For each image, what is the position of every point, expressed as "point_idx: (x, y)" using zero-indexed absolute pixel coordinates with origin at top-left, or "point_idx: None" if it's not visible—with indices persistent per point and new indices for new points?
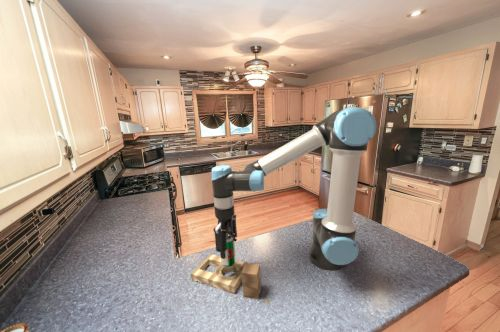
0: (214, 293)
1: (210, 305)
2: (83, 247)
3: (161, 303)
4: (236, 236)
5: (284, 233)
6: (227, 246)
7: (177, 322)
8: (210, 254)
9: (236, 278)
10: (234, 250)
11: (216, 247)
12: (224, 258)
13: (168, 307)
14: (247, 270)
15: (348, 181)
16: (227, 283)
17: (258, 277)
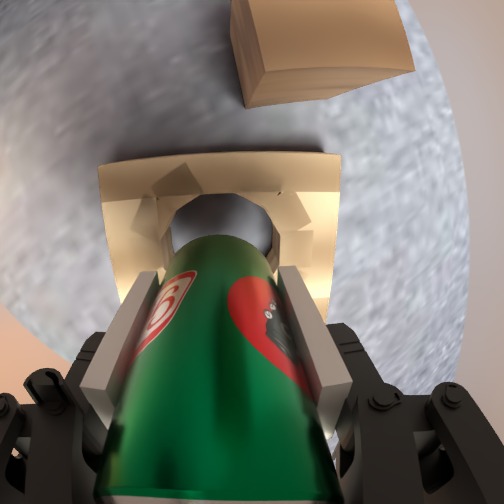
0: (349, 250)
1: (405, 229)
2: None
3: (406, 370)
4: (4, 402)
5: None
6: (317, 428)
7: (458, 287)
8: None
9: (271, 171)
10: (129, 306)
11: (450, 468)
12: (340, 325)
13: (419, 346)
14: (370, 22)
15: None
16: (329, 206)
17: None
